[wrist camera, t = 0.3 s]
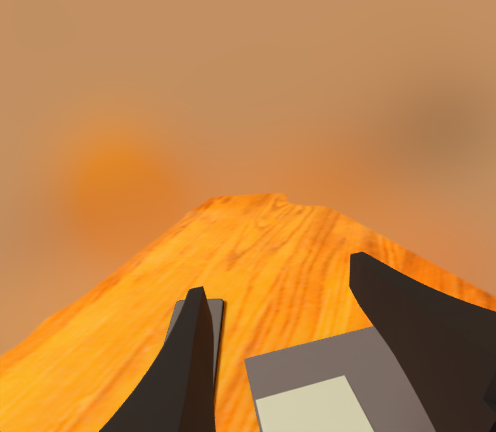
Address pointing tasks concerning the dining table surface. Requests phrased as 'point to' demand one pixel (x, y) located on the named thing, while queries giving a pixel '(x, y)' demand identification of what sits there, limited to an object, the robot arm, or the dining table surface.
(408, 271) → the dining table surface
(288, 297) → the dining table surface
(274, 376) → the rubber mat
